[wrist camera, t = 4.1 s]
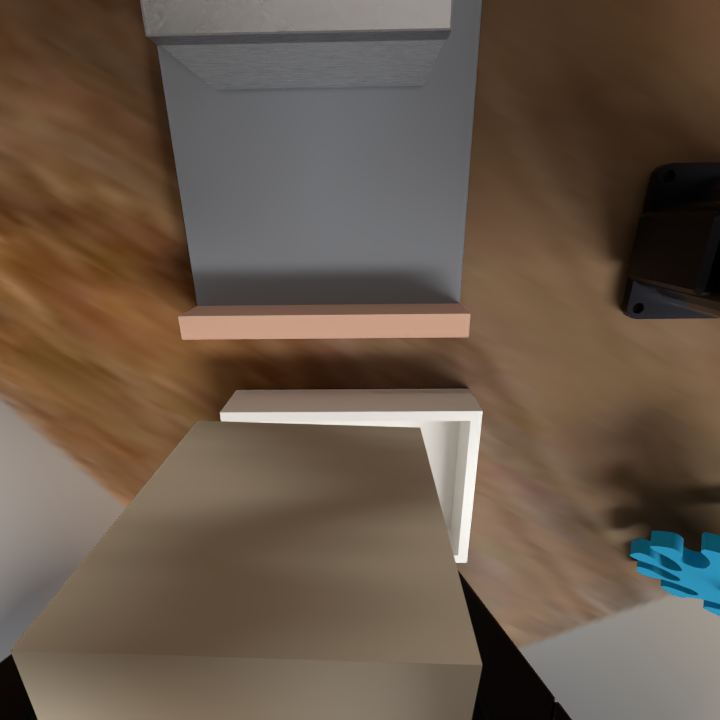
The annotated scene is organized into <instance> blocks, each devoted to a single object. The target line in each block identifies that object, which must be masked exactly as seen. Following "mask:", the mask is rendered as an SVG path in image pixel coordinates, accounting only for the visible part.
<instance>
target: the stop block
mask: <svg viewBox="0 0 720 720" xmlns="http://www.w3.org/2000/svg"><path fill="white" fill-rule="evenodd" d="M11 653H12V656H13V658H14V661H15V663H16V666H17V668H18V671H19V673H20V676H21V679H22V681H23V684H24V686H25V689H26V691H27V694H28V696H29V699H30V701H31V704H32V706H33V709H34V711H35V714H36V716H37V719H38V720H472V715H473V710H474V705H475V700H476V695H477V690H478V685H479V680H480V675H481V670H482V661H481V658H480V654H479V650H478V646H477V642H476V638H475V635H474V631H473V627H472V623H471V619H470V616H469V612H468V608H467V604H466V600H465V596H464V593H463V589H462V585H461V581H460V577H459V574H458V570H457V566H456V562H455V558H454V555H453V551H452V547H451V543H450V539H449V535H448V532H447V528H446V524H445V520H444V516H443V513H442V509H441V505H440V501H439V497H438V493H437V490H436V486H435V482H434V478H433V474H432V471H431V467H430V463H429V459H428V455H427V451H426V448H425V444H424V440H423V436H422V432H421V429H420V427H388V426H356V425H323V424H291V423H259V422H227V421H197V422H196V423H195V424H194V425H193V427H192V428H191V429H190V430H189V432H188V433H187V434H186V435H185V436H184V438H183V439H182V440H181V441H180V443H179V444H178V445H177V446H176V447H175V449H174V450H173V451H172V452H171V454H170V455H169V456H168V457H167V459H166V460H165V461H164V462H163V463H162V465H161V466H160V467H159V468H158V470H157V471H156V472H155V473H154V474H153V476H152V477H151V478H150V479H149V481H148V482H147V483H146V484H145V486H144V487H143V488H142V489H141V490H140V492H139V493H138V494H137V495H136V497H135V498H134V499H133V500H132V501H131V503H130V504H129V505H128V506H127V508H126V509H125V510H124V511H123V513H122V514H121V515H120V516H119V518H118V519H117V520H116V521H115V522H114V524H113V525H112V526H111V527H110V529H109V530H108V531H107V532H106V533H105V535H104V536H103V537H102V538H101V540H100V541H99V542H98V543H97V544H96V546H95V547H94V548H93V549H92V551H91V552H90V553H89V554H88V556H87V557H86V558H85V559H84V560H83V562H82V563H81V564H80V565H79V567H78V568H77V569H76V570H75V572H74V573H73V574H72V575H71V576H70V578H69V579H68V580H67V581H66V583H65V584H64V585H63V586H62V588H61V589H60V590H59V591H58V592H57V594H56V595H55V596H54V597H53V598H52V600H51V601H50V602H49V604H48V605H47V606H46V607H45V608H44V610H43V611H42V612H41V613H40V614H39V616H38V617H37V618H36V619H35V621H34V622H33V623H32V624H31V625H30V627H29V628H28V629H27V630H26V632H25V633H24V634H23V635H22V637H21V638H20V639H19V640H18V642H17V643H16V644H15V645H14V646H13V648H12V649H11Z"/></svg>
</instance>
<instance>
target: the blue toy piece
mask: <svg viewBox="0 0 720 720" xmlns="http://www.w3.org/2000/svg"><path fill="white" fill-rule="evenodd" d="M683 543H684V539H683V537H681V536H680V535H678V534H676V533H673V532H667V531H652V533H651V541H649V540H646V539H643V538H640V539H635V540H633V541H632V542H631V549H630V556H631V557H633V558H635V559H637V560H638V563H637V571H638V572H639V573H640V574H643V575H645V576H648V577H652V578H658V579H661V587H662V588H663V589H664V590H666V591H667V592H669V593H670V594H672V595H675V596H678V597H685V598H686V597H690V598H698V599H703V600H704V607H703V608H704V609H706V610H708V611H710V612H712V613H714V614H716V615H719V616H720V535H717V534H712V533H707V532H704V533H703V534H702V543H701V552H696V551H692V550H689V549H687V548H685V547H683Z"/></svg>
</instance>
